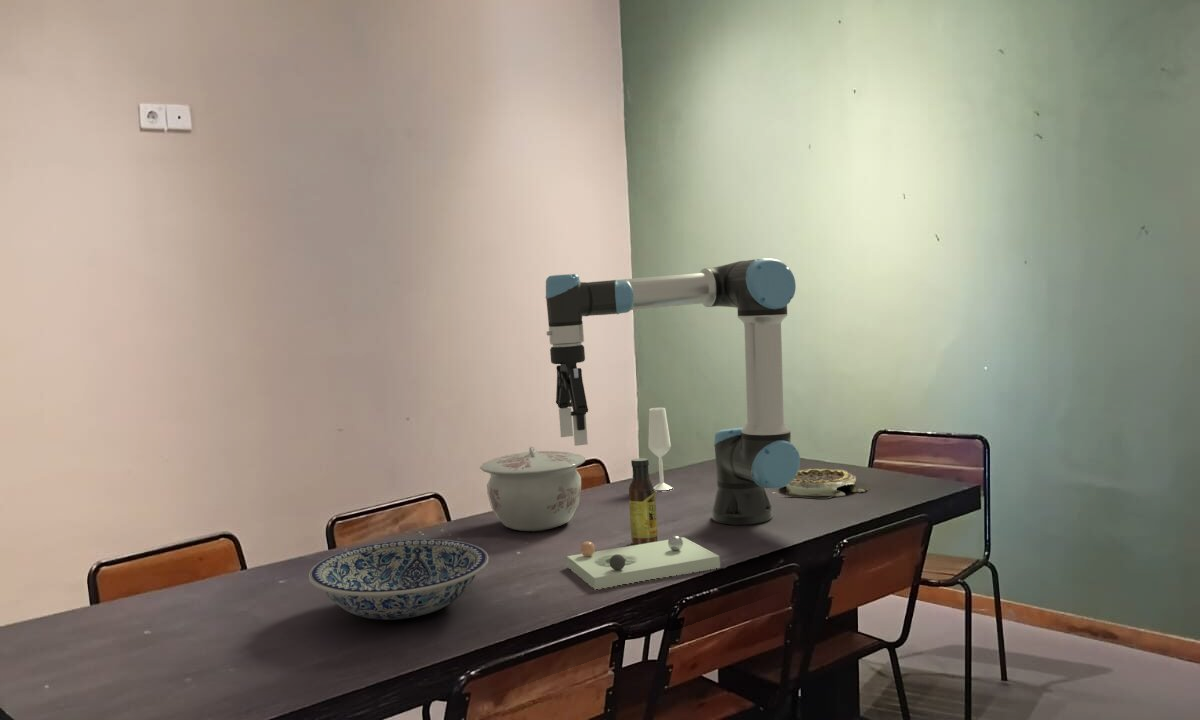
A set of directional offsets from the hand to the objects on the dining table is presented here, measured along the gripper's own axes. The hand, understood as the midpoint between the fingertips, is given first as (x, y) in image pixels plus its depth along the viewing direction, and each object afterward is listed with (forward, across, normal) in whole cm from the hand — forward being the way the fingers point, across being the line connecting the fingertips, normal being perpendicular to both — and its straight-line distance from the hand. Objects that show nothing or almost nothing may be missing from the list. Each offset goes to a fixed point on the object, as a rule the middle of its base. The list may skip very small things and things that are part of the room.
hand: (573, 440), depth 211 cm
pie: (+28, -39, +79) cm, 92 cm away
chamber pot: (+27, -38, -3) cm, 47 cm away
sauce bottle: (+27, -7, +17) cm, 33 cm away
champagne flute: (+28, -62, +40) cm, 78 cm away
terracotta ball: (+23, +6, 0) cm, 24 cm away
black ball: (+23, +18, +3) cm, 30 cm away
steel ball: (+23, +10, +18) cm, 31 cm away
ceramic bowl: (+27, +16, -40) cm, 51 cm away
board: (+27, +11, +10) cm, 31 cm away
